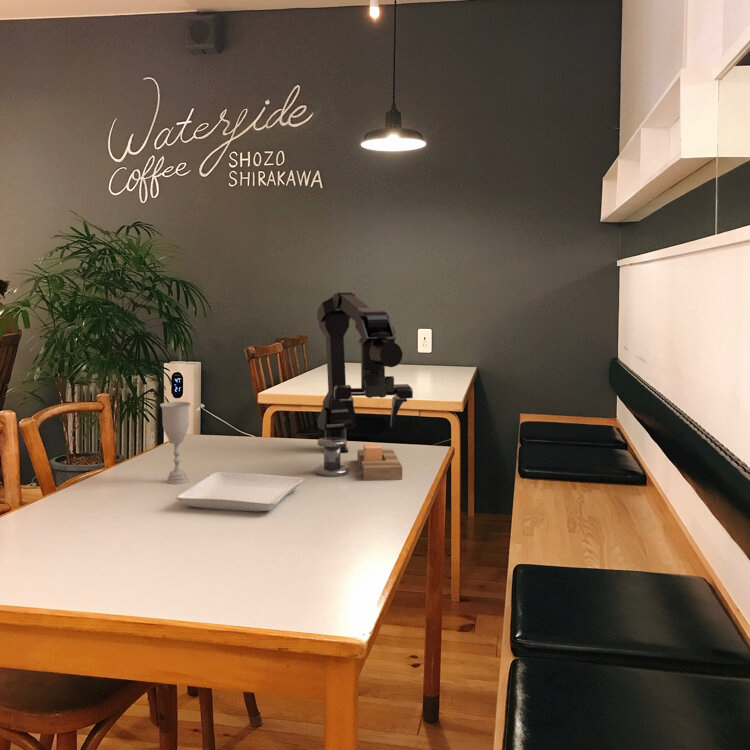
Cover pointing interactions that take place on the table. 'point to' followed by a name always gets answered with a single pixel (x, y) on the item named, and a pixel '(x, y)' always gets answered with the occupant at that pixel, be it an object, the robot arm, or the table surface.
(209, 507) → the salad plate
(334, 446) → the bobbin
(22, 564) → the table surface
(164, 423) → the chalice
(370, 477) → the notched board
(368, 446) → the wooden block
